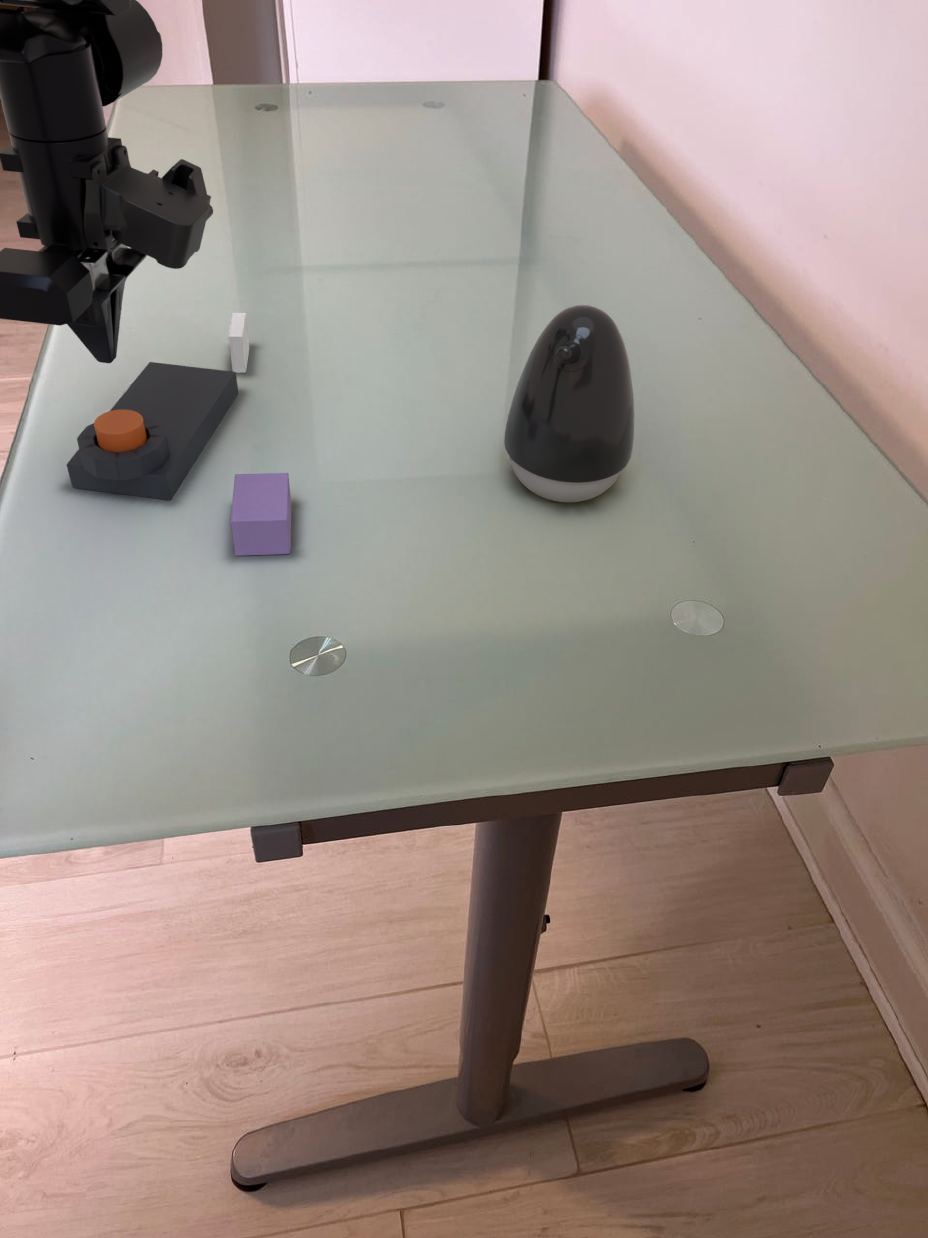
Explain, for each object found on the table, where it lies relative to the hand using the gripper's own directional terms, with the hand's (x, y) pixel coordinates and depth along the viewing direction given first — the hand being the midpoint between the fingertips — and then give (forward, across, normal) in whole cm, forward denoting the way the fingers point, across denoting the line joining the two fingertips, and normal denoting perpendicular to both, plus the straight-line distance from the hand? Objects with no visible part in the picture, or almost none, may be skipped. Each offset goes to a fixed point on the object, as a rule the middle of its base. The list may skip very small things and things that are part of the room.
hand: (107, 360), depth 71 cm
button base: (+11, +7, 0) cm, 13 cm away
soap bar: (+11, -4, -12) cm, 16 cm away
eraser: (+11, +22, -2) cm, 24 cm away
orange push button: (+7, 0, 0) cm, 7 cm away
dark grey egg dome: (+11, +7, -34) cm, 36 cm away
